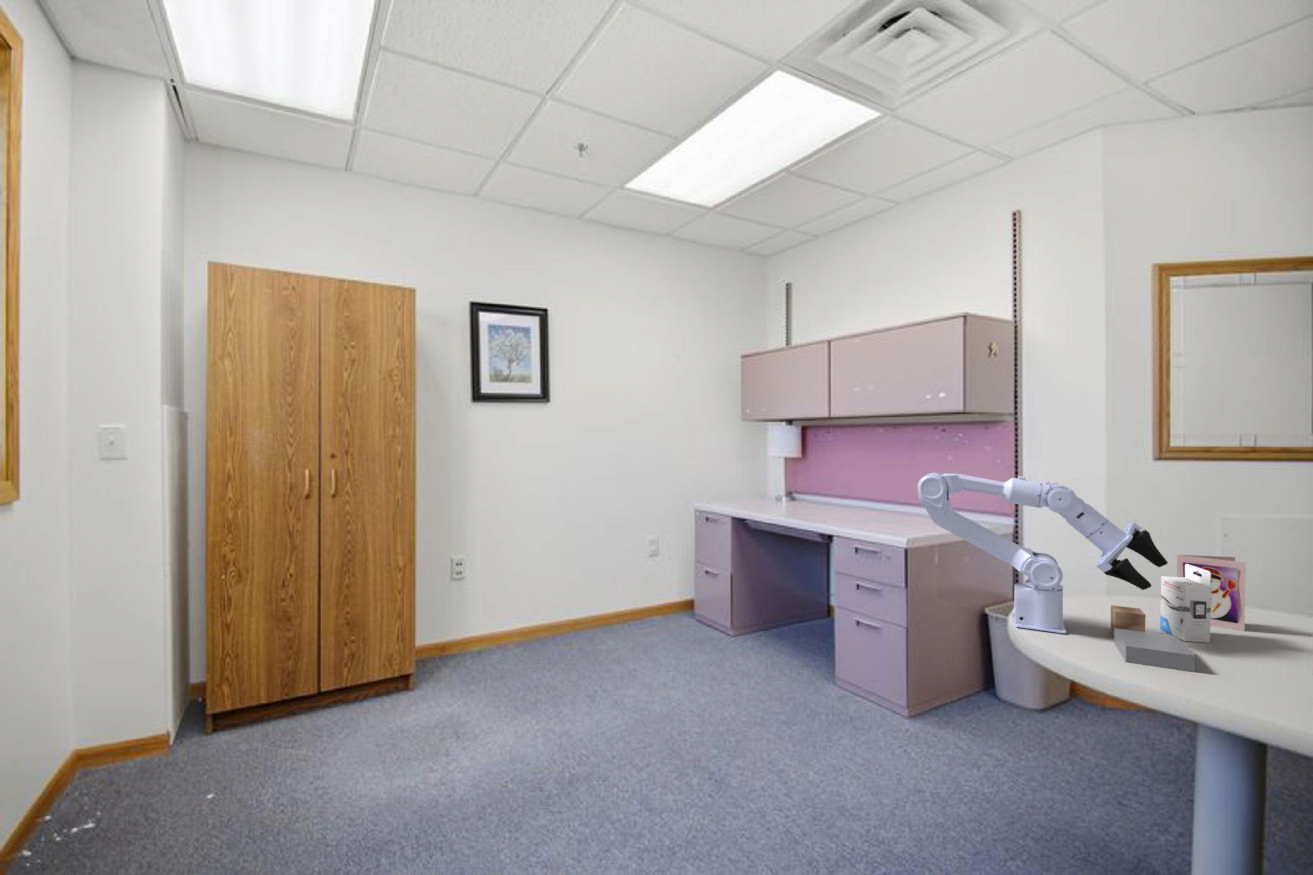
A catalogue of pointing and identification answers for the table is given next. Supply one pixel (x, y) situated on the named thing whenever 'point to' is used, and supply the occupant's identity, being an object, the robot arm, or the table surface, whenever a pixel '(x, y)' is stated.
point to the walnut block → (1127, 619)
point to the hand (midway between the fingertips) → (1155, 576)
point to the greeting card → (1221, 588)
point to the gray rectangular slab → (1154, 649)
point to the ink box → (1187, 605)
